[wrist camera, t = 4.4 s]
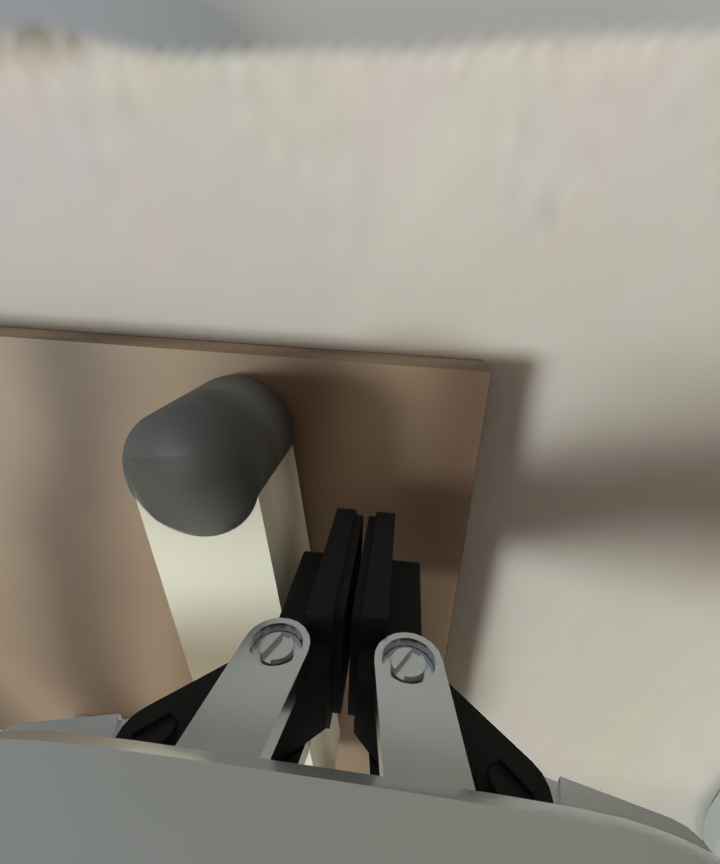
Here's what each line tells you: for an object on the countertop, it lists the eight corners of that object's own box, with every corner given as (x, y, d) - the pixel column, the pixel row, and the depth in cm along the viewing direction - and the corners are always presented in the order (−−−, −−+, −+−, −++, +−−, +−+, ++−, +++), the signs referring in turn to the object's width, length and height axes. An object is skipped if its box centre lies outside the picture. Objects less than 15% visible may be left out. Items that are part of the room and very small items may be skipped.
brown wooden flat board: (483, 360, 13) (515, 406, 9) (422, 761, 19) (423, 897, 15) (-273, 307, 15) (-533, 323, 11) (-100, 679, 22) (-222, 777, 18)
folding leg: (345, 750, 17) (330, 856, 14) (267, 746, 17) (235, 848, 14) (284, 371, 12) (238, 408, 9) (174, 379, 12) (94, 417, 9)
